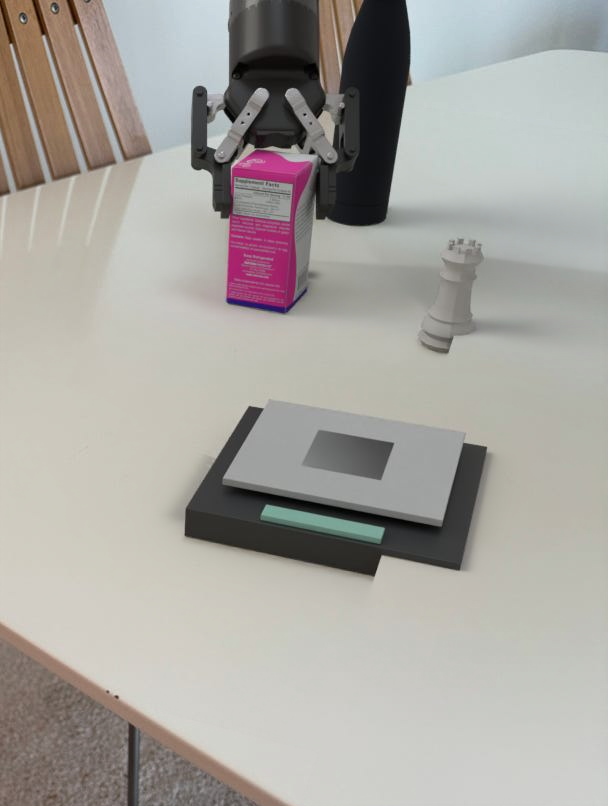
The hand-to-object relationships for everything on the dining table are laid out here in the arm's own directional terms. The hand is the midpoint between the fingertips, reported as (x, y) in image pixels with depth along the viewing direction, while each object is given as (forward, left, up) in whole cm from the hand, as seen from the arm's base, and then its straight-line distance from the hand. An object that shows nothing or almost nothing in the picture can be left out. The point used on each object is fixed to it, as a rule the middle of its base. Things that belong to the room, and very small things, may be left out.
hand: (274, 214), depth 86 cm
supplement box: (0, -1, -8) cm, 8 cm away
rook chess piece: (-16, +3, -8) cm, 18 cm away
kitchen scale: (-13, +30, -8) cm, 33 cm away
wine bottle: (-3, -26, -8) cm, 28 cm away
